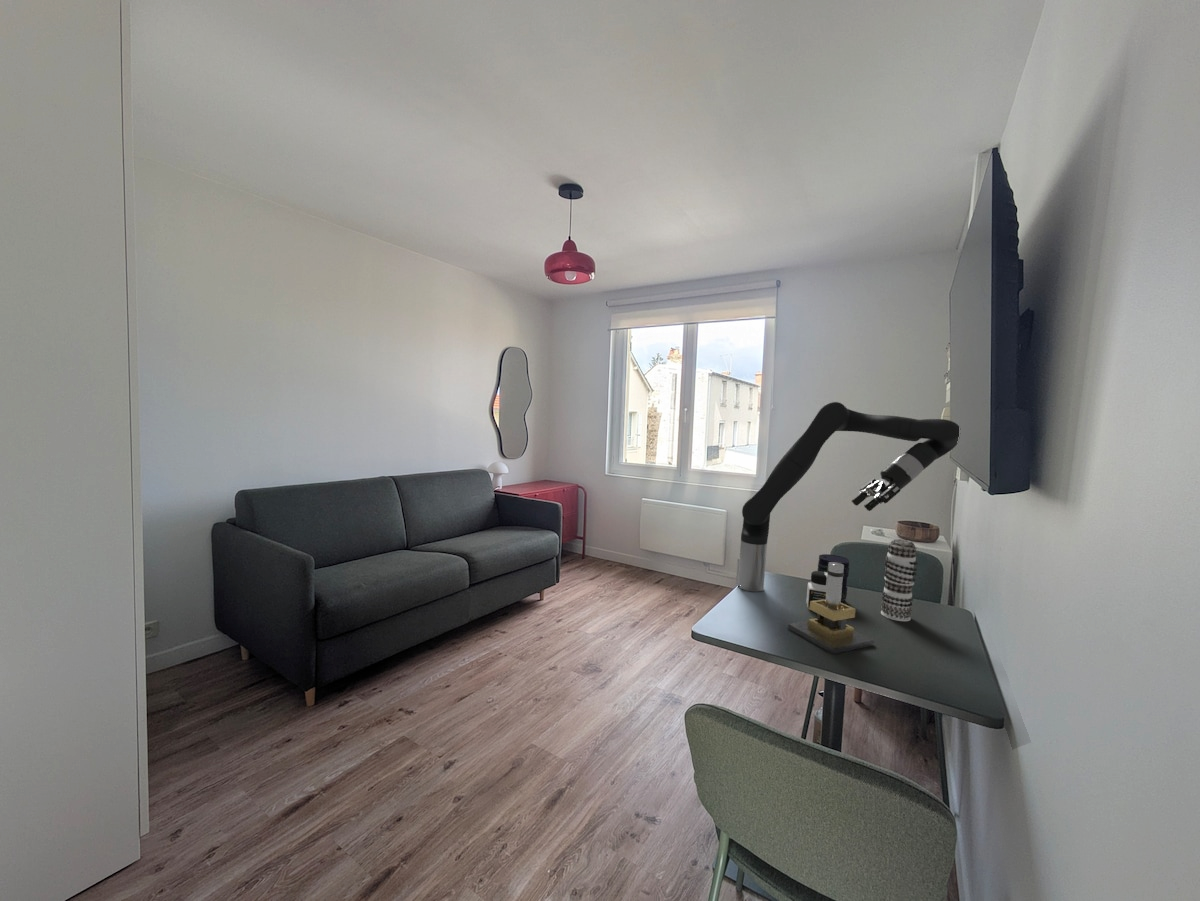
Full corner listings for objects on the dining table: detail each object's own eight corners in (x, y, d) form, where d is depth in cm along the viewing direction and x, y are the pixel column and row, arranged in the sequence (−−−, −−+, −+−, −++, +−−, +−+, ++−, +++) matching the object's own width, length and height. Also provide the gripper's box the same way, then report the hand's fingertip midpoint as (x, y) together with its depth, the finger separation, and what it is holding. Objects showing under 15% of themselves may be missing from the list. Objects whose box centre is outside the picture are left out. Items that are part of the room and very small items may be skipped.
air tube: (819, 629, 144) (824, 562, 142) (829, 627, 146) (835, 561, 144) (831, 635, 140) (836, 567, 138) (841, 633, 142) (847, 565, 140)
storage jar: (847, 599, 174) (851, 558, 173) (844, 607, 166) (848, 564, 165) (817, 592, 180) (820, 552, 179) (812, 600, 171) (816, 558, 170)
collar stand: (788, 628, 147) (790, 597, 146) (827, 622, 153) (830, 592, 153) (832, 653, 132) (835, 619, 132) (873, 645, 139) (877, 612, 138)
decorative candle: (902, 611, 165) (910, 538, 164) (917, 623, 156) (925, 545, 154) (874, 609, 166) (881, 536, 164) (887, 620, 157) (895, 543, 155)
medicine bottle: (807, 609, 163) (810, 574, 162) (806, 602, 170) (809, 568, 169) (831, 613, 161) (834, 577, 160) (828, 605, 167) (831, 571, 167)
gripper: (882, 460, 158) (842, 493, 159) (906, 464, 144) (862, 501, 145) (897, 477, 158) (857, 510, 159) (923, 483, 144) (879, 520, 145)
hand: (859, 506), depth 152 cm, fingers open, 8 cm apart
